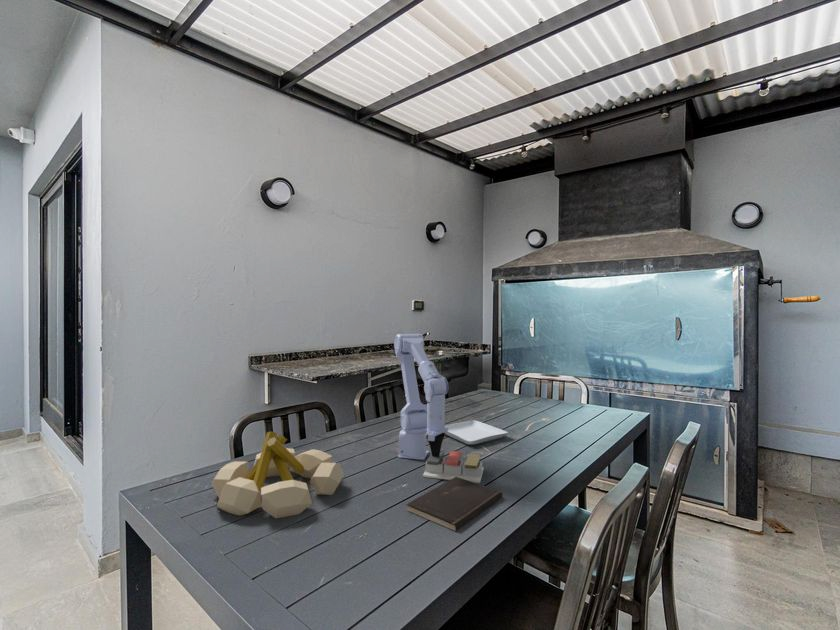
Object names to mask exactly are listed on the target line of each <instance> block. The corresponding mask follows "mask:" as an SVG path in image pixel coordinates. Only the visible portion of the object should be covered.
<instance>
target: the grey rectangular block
mask: <svg viewBox="0 0 840 630" xmlns="http://www.w3.org/2000/svg"><path fill="white" fill-rule="evenodd" d="M444 456H445V451H443V450H440V455H439V457H433V456H432V453H431V454H429V457H428V458H427V460H426V461H427V464H430V465H438V464H440V461H441V459H442V458H443V457H444Z"/></svg>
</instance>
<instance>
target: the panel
mask: <svg viewBox="0 0 840 630" xmlns="http://www.w3.org/2000/svg"><path fill="white" fill-rule="evenodd" d="M446 460H447V458H443V457H442V459H441V461H440V464H438V465H430V464H427V460H426V461H425V464H424V465H425V467H424V468H425V469H424V473H423V474H422V478H429V479H431V478H432V479H439V480H448V481H449V480H451V479H453V478H454V477H459V478H462V479H465V480H468V481H471V482H474V483H477V484H481V482H482V481H481V480H482V478H483V473H484V469H485V467H483V461H479V462H478V466H477V469H469V468H465V463H466V460H467V459H466V460H464V459H460V460H459V462H458V466H452V465H446Z"/></svg>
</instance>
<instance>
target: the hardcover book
mask: <svg viewBox="0 0 840 630" xmlns="http://www.w3.org/2000/svg"><path fill="white" fill-rule="evenodd" d="M501 499H503V492H502V491H501V490H498V489H494V488H491V487H489V486H485V485H482V484H481V483H474V482H471V481H468V480H465V479H462V478H459V477H454V478H453V479H451V480H448V481H446V482H444V483H442V484H440V485H438V486H437V487H435V488H432V489H430V490H429V491H427V492H425V493H423V494H422V495H420V496H418V497H416V498H415V499H413V500H411V501H409V502H407V503H406V504H405V505H406V506H407V511H408V512H409V513H412V514H415V515H417V516H420V517H421V518H424V519H426V520H428V521H431V522H433V523H436V524H438V525H441V526H443V527H445V528H447V529H450V530H451V531H455V533H456V532H458V531H459V530H460V529H462V528H463V527H465V526H466V525H467V524H468V523H470V522H471V521H473V520H474V519H476V518H477V517H479V515H481V514H483V513H484V512H485V511H487V510H488V509H489V508H491V507H492V506H494V505H495V504H496V503H497V502H499V501H500V500H501Z"/></svg>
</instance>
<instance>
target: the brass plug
mask: <svg viewBox="0 0 840 630" xmlns="http://www.w3.org/2000/svg"><path fill="white" fill-rule="evenodd" d="M480 458H481V454H474V453H468V456H467V458H466V463H465V468H469V469H477V466H478V462H480Z"/></svg>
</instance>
